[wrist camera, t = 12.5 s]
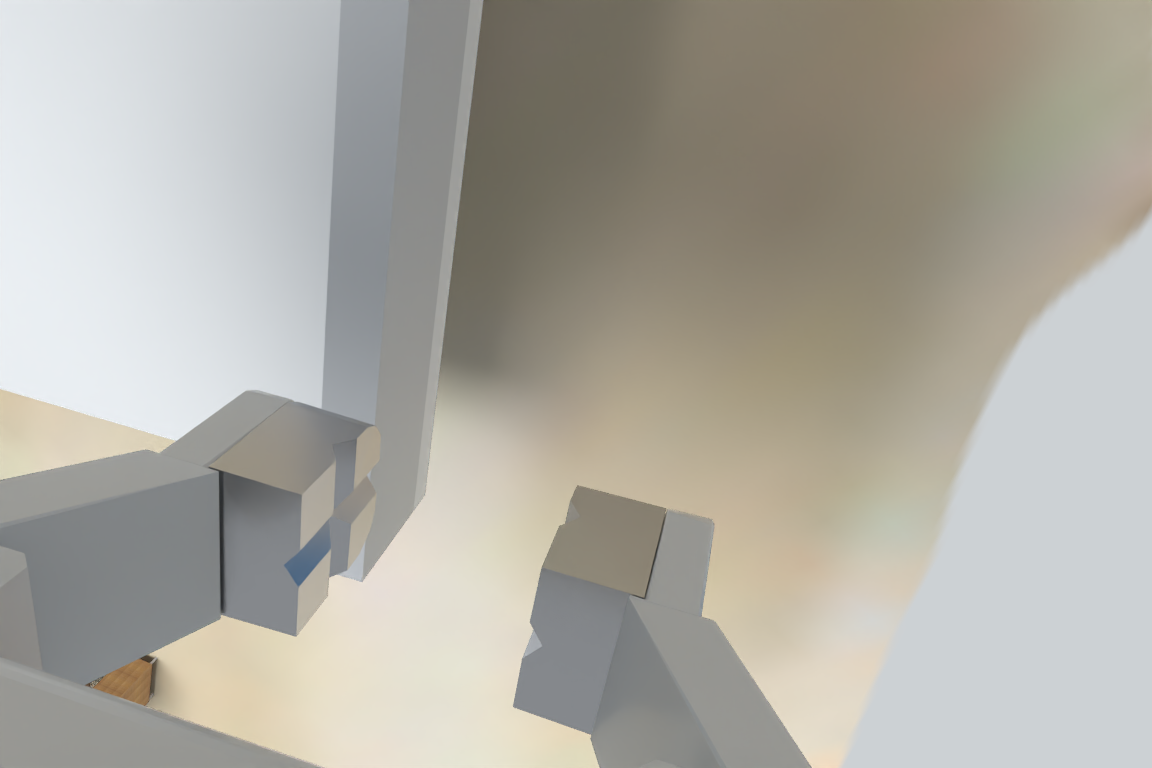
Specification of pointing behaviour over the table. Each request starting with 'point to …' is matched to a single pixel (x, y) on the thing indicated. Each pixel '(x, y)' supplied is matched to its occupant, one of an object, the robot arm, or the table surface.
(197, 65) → the lid
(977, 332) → the table surface
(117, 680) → the skate ramp
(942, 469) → the table surface
